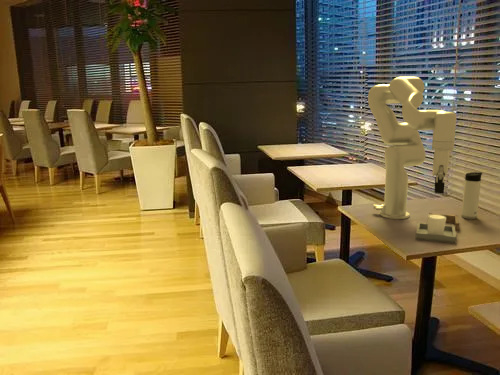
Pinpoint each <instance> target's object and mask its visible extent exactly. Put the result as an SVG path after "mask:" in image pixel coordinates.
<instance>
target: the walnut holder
mask: <svg viewBox="0 0 500 375" xmlns="http://www.w3.org/2000/svg"><path fill="white" fill-rule="evenodd" d="M431 214H435V213H432V212H429V213H428V215H431ZM436 214H437V215H443V216H445V217H446V223H451V224H454V226H455V231H459V229H460V220H459V215H457V214H456V215H455V214H445V213H436Z"/></svg>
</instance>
